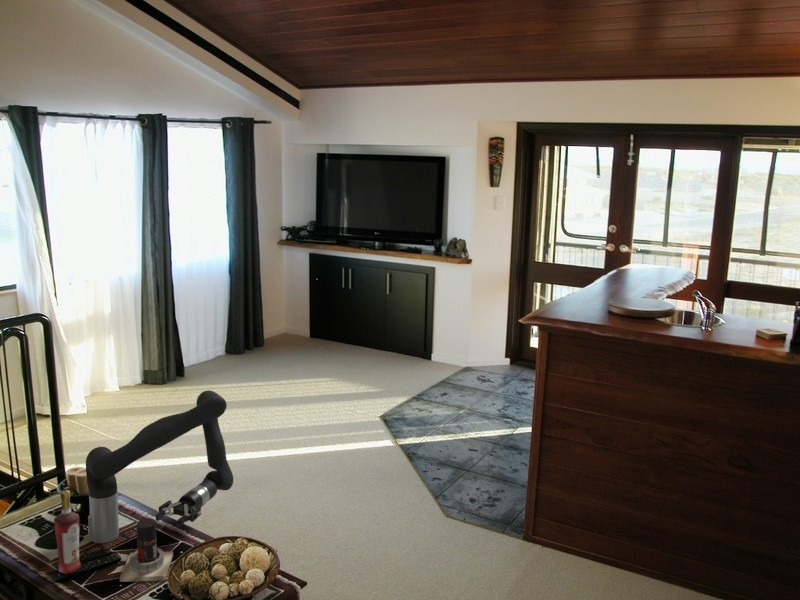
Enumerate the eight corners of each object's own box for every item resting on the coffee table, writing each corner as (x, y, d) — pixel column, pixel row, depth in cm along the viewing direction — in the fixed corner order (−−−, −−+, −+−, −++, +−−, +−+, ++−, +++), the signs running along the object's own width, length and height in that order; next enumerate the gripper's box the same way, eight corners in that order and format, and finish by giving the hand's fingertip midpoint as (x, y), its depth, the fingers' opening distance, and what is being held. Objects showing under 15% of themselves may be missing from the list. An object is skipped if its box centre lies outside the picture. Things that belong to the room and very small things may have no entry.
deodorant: (140, 558, 234) (139, 518, 230) (159, 558, 234) (157, 518, 231) (135, 569, 228) (134, 527, 225) (154, 569, 228) (153, 527, 225)
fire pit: (119, 581, 224) (119, 569, 223) (130, 556, 237) (130, 544, 236) (164, 580, 225) (164, 567, 224) (173, 555, 239) (172, 543, 238)
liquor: (72, 561, 233) (68, 484, 227) (86, 568, 229) (82, 491, 224) (52, 571, 227) (47, 493, 221) (66, 579, 223) (61, 500, 217)
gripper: (177, 486, 255) (149, 507, 240) (211, 494, 251) (184, 515, 236) (178, 505, 257) (150, 526, 242) (211, 512, 253) (185, 535, 238)
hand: (167, 521), depth 239 cm, fingers open, 8 cm apart
